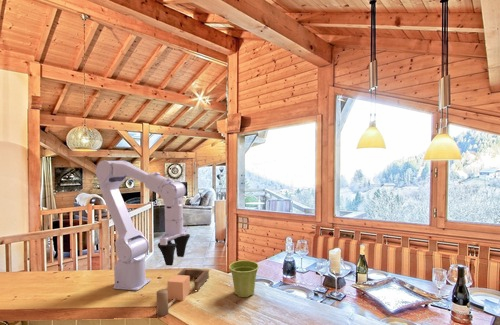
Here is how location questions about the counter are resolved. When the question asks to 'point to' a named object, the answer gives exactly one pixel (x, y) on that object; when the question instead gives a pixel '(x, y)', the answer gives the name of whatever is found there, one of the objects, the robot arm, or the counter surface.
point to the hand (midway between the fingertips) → (175, 260)
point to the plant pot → (244, 277)
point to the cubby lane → (196, 276)
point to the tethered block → (172, 293)
